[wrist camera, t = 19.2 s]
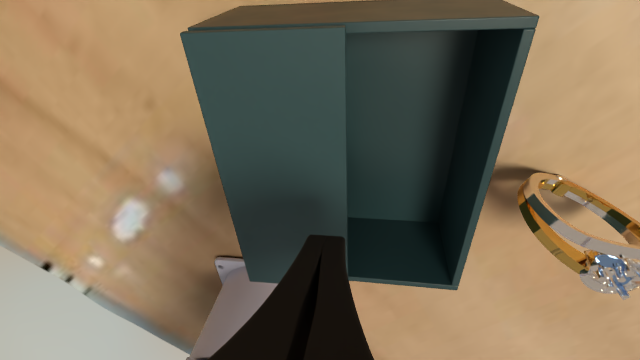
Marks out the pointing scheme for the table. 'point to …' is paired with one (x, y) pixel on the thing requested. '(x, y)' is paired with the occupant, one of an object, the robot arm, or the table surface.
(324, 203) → the flap
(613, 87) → the table surface
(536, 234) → the ring
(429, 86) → the carton
